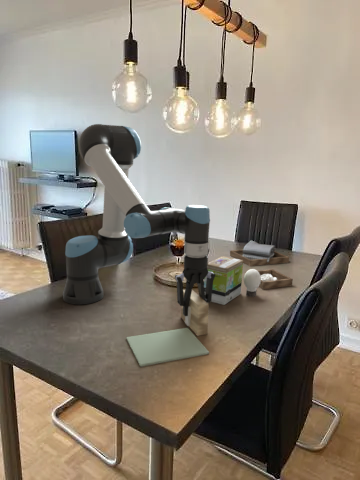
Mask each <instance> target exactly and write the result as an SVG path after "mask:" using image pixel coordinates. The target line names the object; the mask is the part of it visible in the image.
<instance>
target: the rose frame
mask: <svg viewBox="0 0 360 480" xmlns="http://www.w3.org/2000/svg"><path fill="white" fill-rule="evenodd" d="M257 271H258V272H259V274H260V276H261V275H263V274H271V275H272V276H273V278H274V277H276V278H277V280H273V281H262V280H261V283H260V285H259V287H258V288H260V289H262V290H265V289H266V290H267V289H277V288H282V287H283V288H284V287H292V286H293V278H291V277H289V276H287V275H286V274H283V273H281V272H279V271H277V270H275V269H272V268H270V269H260V270H257ZM246 272H247V271H245V272H244V274H245V273H246Z"/></svg>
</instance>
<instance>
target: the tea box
mask: <svg viewBox="0 0 360 480" xmlns="http://www.w3.org/2000/svg"><path fill="white" fill-rule="evenodd" d="M207 269H208V271H209V272H210V271H211V272H213V273H214V274H215V278H214V280H213V288H212V298H211V302H212V303H214V304H219V305H223V306H224V305H226V304H228V303H229V302H231V301H232V300H234V299H235V298H236V297H238V296H240V295H241V294H242V280H243V270H244V263H243V260H240V259H235V258H233V257H228V256H222V255H221V256H220V257H217V258H215V259H213V260H210V261H208V266H207ZM206 281H207V276H206V277H205V279H204V290H205V292H206ZM211 302H210V303H211Z"/></svg>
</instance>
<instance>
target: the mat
mask: <svg viewBox="0 0 360 480" xmlns="http://www.w3.org/2000/svg"><path fill="white" fill-rule="evenodd" d="M125 338H126V339H125V340H126V341H127V343H128V345H129V347H130V349H131V351H132V353H133V355H134V357H135V359H136V361H137V362H138V365H139V367H147V366H151V365H155V364H156V365H157V364H163V363H168V362H173V361H178V360H179V361H180V360H183V359H184V360H185V359H188V358H194V357H201V356H205V355H209V354H210V351H209V350H208V349H207V348H206V347H205V346H204V344H202V342H201V341H200V340H199V338H198V337H196V334H195V333H194V332H193V331H192V330H191V329H190V328H189V327H183V328H177V329H171V330H165V331H158V332H153V333H152V332H151V333H150V332H149V333H145V334H139V335H132V336H127V337H125Z"/></svg>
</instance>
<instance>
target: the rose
mask: <svg viewBox="0 0 360 480" xmlns="http://www.w3.org/2000/svg"><path fill="white" fill-rule="evenodd" d="M261 280H262V281H273V280H278V279H277V278H276V277H273V276H272V275H271V274H263V275H261Z"/></svg>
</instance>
